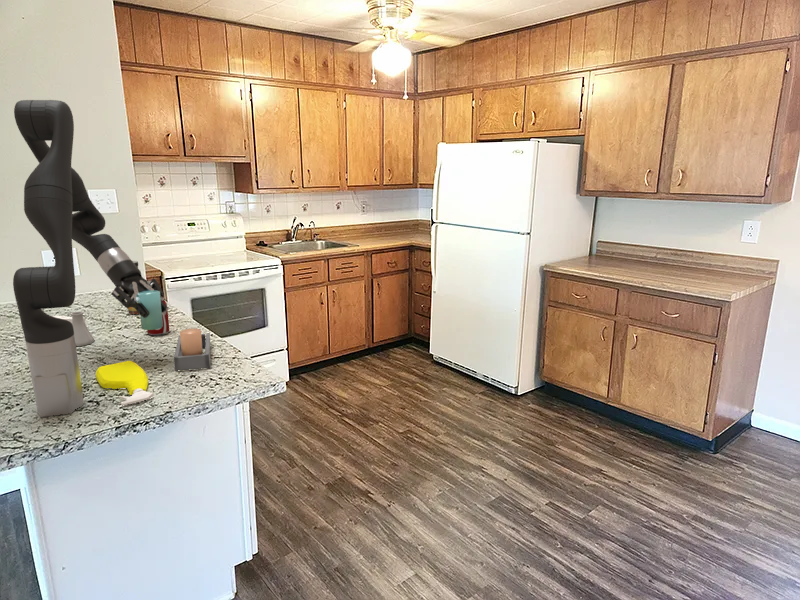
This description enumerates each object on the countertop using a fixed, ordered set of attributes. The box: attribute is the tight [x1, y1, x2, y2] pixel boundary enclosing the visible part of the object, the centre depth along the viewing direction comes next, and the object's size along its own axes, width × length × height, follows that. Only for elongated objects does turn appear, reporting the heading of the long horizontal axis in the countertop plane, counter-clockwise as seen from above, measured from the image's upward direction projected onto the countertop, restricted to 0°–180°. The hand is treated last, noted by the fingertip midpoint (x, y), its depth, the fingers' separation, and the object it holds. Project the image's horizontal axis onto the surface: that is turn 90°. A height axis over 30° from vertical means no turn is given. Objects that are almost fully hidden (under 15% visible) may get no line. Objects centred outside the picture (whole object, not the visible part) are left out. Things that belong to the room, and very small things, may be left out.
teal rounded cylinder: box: [138, 290, 163, 331], centre depth 144 cm, size 6×6×10 cm
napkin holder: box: [51, 315, 87, 326], centre depth 174 cm, size 15×11×6 cm
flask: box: [70, 311, 96, 347], centre depth 162 cm, size 7×7×10 cm
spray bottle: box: [95, 360, 155, 407], centre depth 132 cm, size 3×11×24 cm
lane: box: [173, 332, 212, 372], centre depth 153 cm, size 20×9×4 cm, turn 19°
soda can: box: [146, 296, 170, 337], centre depth 172 cm, size 7×7×12 cm
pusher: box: [201, 333, 206, 349], centre depth 162 cm, size 5×6×4 cm
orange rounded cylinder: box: [179, 327, 204, 356], centre depth 147 cm, size 6×6×10 cm
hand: (155, 313), depth 144 cm, fingers closed on teal rounded cylinder, 5 cm apart
